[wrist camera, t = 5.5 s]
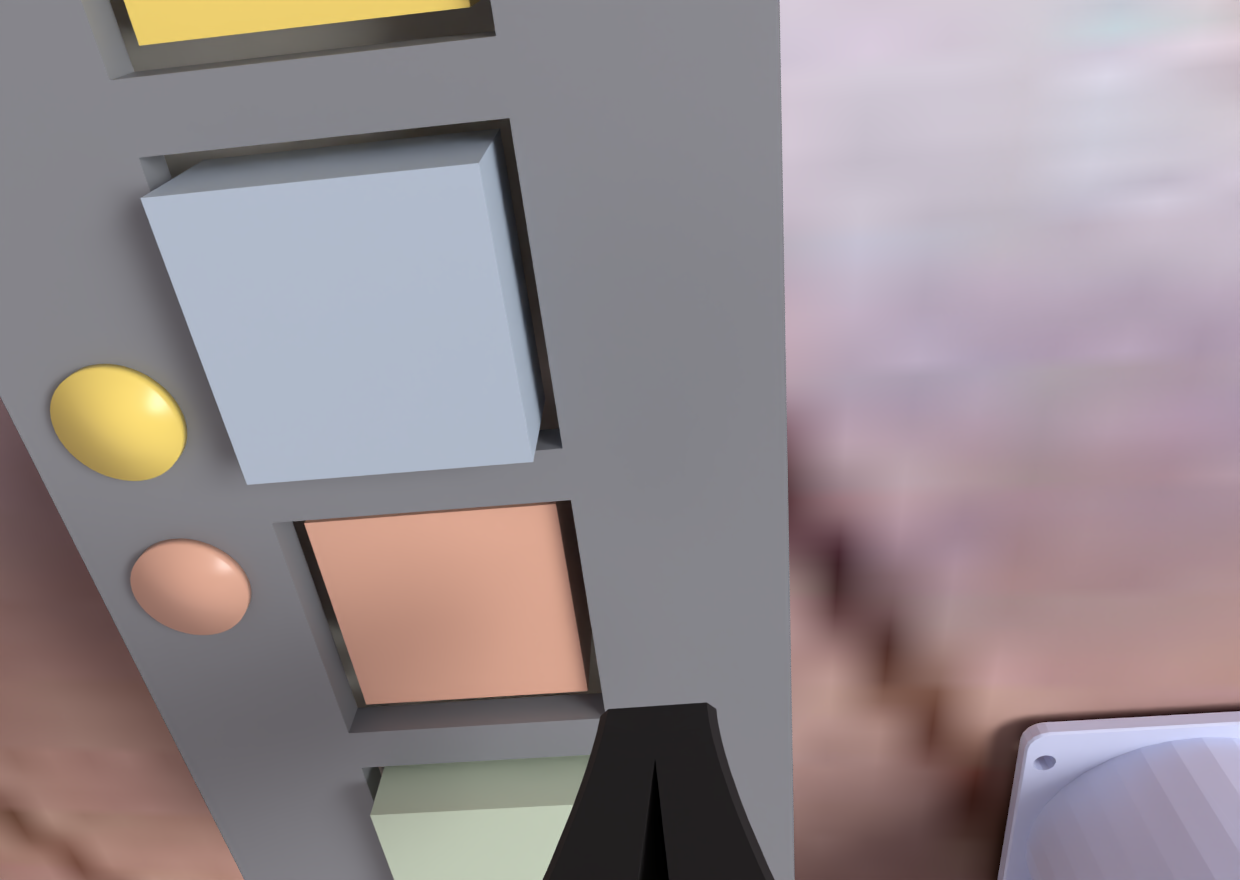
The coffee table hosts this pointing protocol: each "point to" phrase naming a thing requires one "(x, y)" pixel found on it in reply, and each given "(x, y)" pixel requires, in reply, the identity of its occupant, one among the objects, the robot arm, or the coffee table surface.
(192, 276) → the key
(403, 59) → the keypad
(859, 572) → the coffee table surface
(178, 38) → the key
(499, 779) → the key
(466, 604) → the key
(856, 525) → the coffee table surface
